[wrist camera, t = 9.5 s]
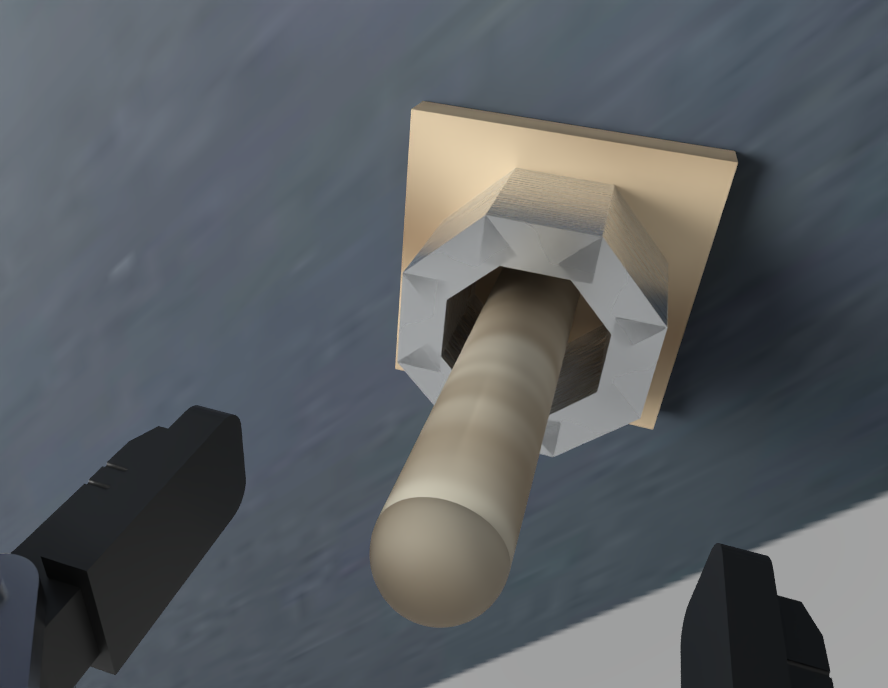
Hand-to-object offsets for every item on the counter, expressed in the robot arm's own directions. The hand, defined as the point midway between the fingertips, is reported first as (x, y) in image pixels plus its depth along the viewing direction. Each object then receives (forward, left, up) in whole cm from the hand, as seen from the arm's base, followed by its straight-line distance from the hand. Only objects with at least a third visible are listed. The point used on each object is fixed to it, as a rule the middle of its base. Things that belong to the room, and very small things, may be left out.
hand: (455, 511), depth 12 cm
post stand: (0, 0, -10) cm, 10 cm away
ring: (0, 0, -9) cm, 9 cm away
